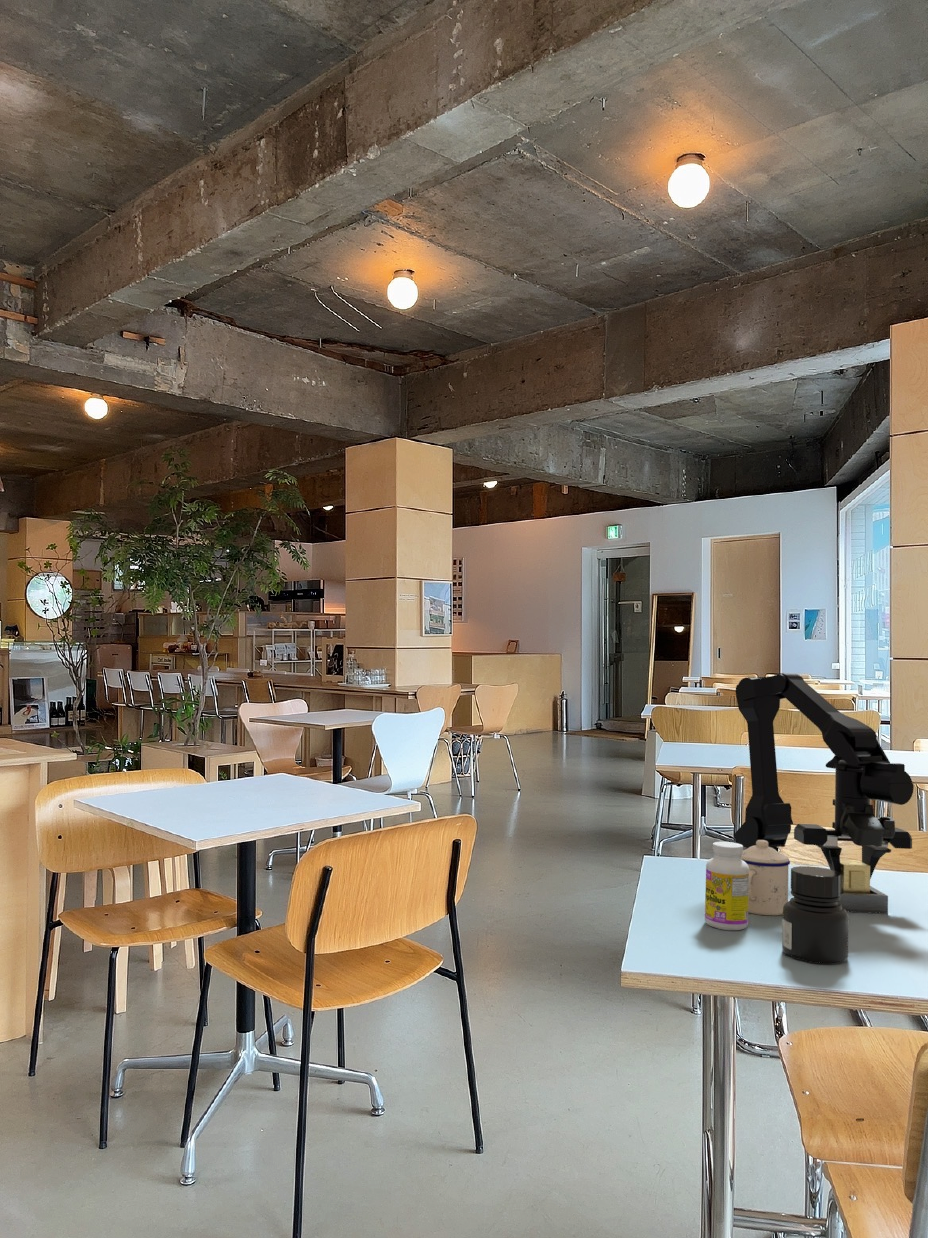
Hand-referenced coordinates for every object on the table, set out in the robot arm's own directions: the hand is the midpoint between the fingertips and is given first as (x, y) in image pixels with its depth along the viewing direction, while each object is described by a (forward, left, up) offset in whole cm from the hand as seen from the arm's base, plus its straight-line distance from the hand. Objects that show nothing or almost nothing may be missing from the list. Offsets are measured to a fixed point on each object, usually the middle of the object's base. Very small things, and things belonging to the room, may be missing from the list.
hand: (851, 885), depth 160 cm
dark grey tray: (0, +3, -4) cm, 5 cm away
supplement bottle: (-26, -16, -4) cm, 31 cm away
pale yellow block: (0, 0, -1) cm, 1 cm away
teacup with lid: (-18, -6, -4) cm, 19 cm away
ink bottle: (-17, -30, -4) cm, 35 cm away
